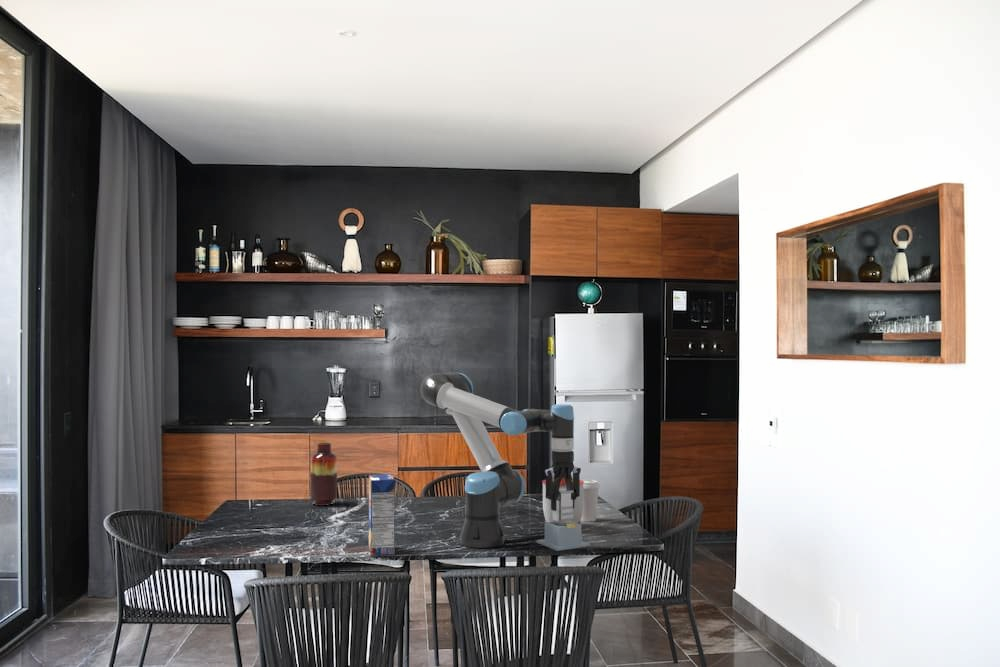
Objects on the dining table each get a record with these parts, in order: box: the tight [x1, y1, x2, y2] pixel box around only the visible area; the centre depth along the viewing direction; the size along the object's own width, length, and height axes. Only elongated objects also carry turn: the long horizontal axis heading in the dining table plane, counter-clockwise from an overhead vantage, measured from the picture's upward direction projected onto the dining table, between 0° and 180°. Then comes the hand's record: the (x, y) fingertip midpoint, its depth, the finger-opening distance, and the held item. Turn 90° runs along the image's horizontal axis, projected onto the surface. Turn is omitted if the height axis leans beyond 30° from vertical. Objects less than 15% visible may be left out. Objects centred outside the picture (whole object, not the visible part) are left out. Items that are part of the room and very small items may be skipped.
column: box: [553, 488, 574, 527], centre depth 261 cm, size 5×5×18 cm
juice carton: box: [368, 473, 396, 557], centre depth 252 cm, size 12×8×24 cm, turn 13°
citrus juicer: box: [541, 478, 584, 524], centre depth 288 cm, size 16×17×20 cm
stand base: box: [536, 521, 591, 552], centre depth 261 cm, size 13×13×8 cm
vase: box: [310, 441, 338, 505], centre depth 332 cm, size 11×11×26 cm
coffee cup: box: [581, 479, 601, 523], centre depth 300 cm, size 10×10×15 cm
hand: (562, 519), depth 261 cm, fingers closed on column, 5 cm apart
